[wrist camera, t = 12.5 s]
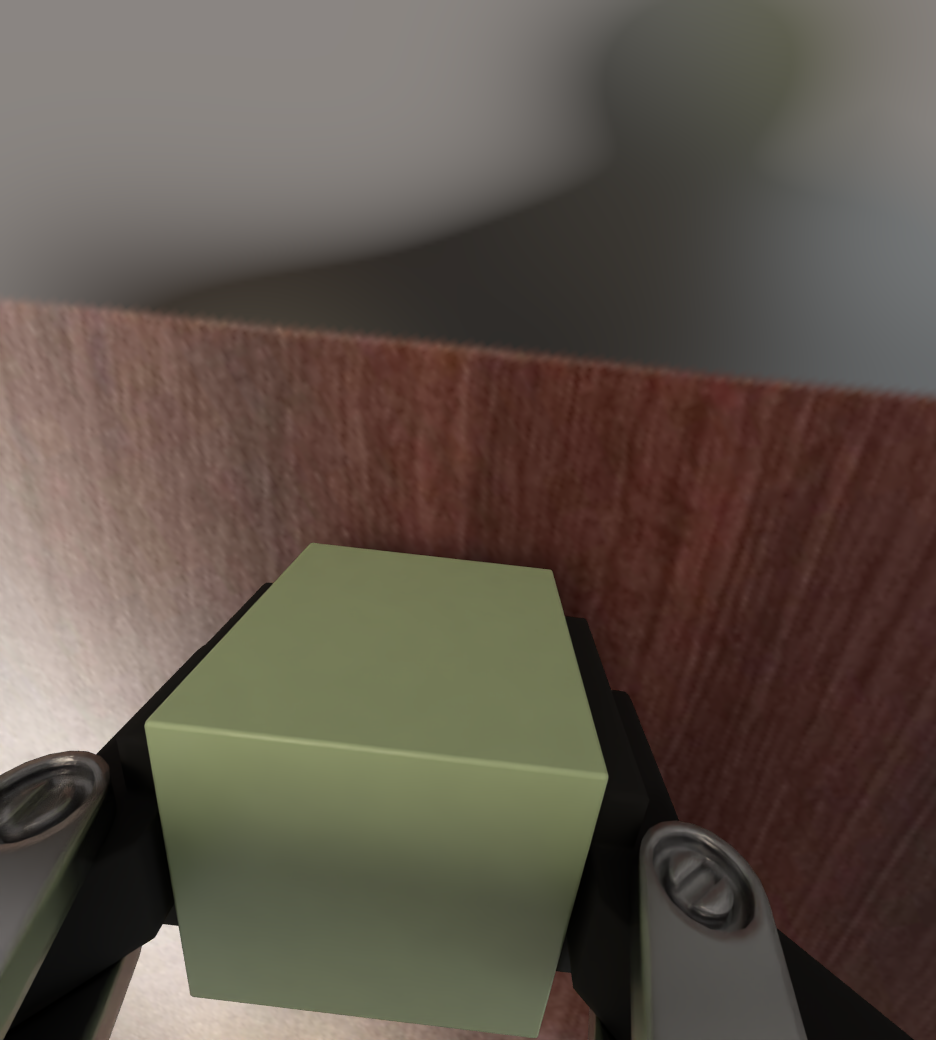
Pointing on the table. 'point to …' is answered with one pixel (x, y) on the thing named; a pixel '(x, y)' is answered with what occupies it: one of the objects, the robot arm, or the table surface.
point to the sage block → (382, 793)
